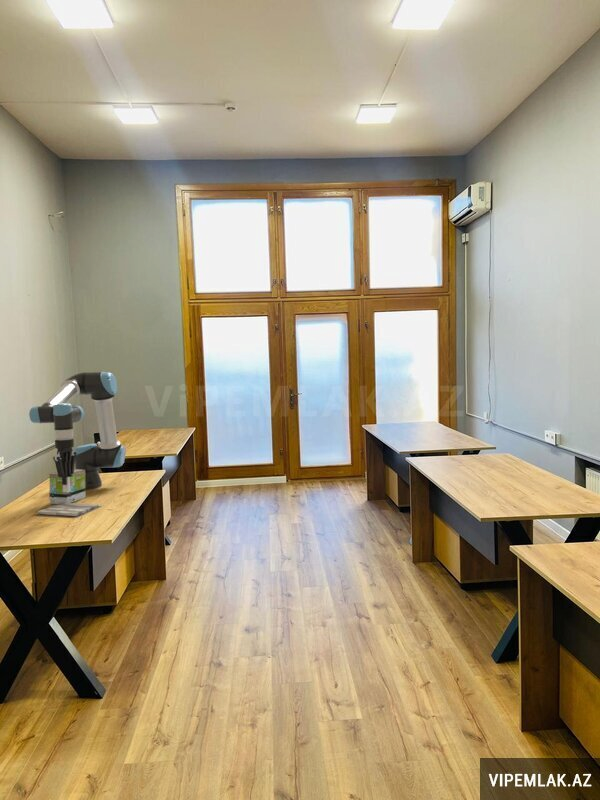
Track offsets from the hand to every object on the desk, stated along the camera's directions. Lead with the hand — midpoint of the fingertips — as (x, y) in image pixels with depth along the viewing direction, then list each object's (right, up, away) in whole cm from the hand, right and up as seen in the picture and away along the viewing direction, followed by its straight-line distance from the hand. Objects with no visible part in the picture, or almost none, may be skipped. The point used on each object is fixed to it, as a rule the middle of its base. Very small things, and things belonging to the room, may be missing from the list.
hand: (66, 491), depth 234 cm
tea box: (-11, -10, +27) cm, 31 cm away
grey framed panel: (-3, -11, +9) cm, 15 cm away
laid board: (-2, -10, +13) cm, 17 cm away
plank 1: (-9, -10, +6) cm, 15 cm away
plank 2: (+1, -10, +3) cm, 11 cm away
